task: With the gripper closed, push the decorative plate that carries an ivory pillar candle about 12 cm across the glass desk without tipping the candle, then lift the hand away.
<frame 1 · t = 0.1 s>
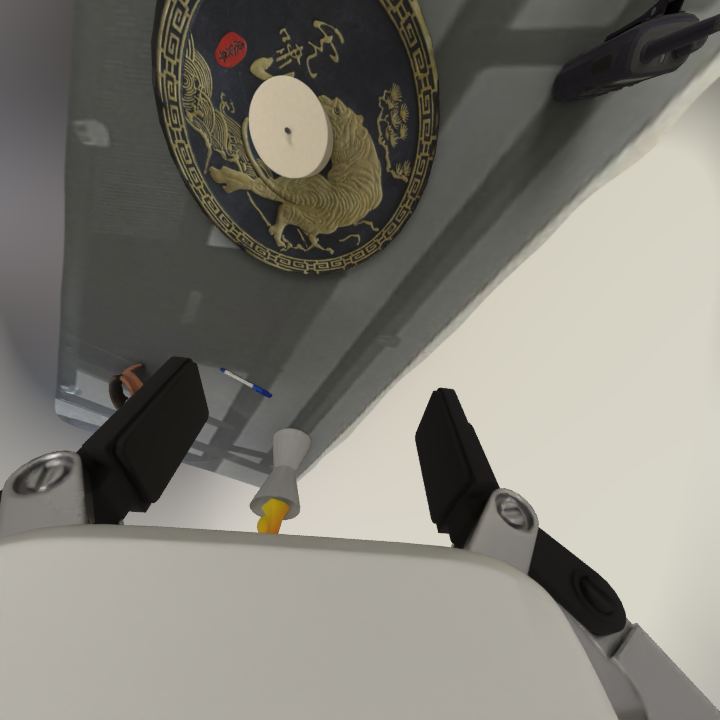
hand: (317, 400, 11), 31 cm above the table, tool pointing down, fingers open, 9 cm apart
lava lamp: (292, 440, 61), on the table
decorative plate: (304, 139, 30), on the table, touching candle
pottery mug: (161, 380, 51), on the table
two-way radio: (578, 73, 27), on the table
candle: (300, 137, 29), point 2 cm above the table, touching decorative plate
ballpoint pen: (248, 381, 51), on the table
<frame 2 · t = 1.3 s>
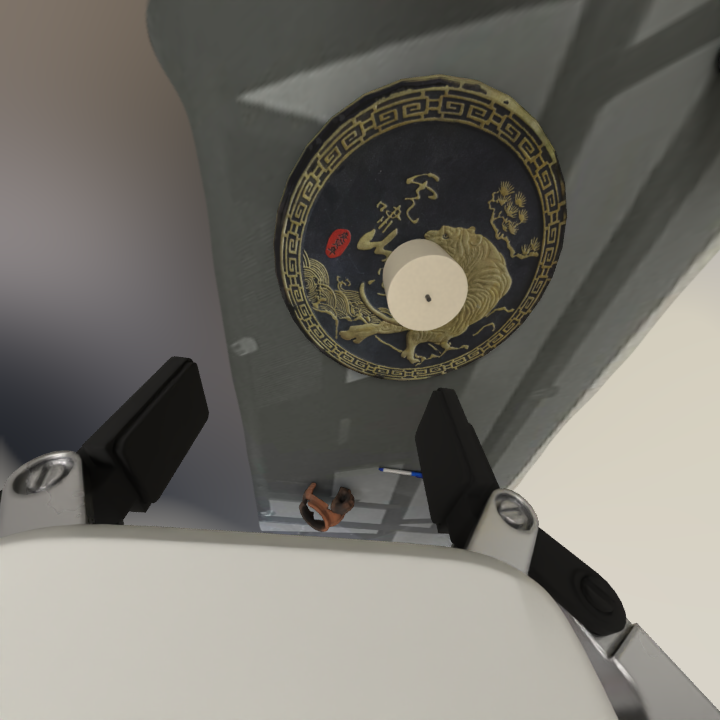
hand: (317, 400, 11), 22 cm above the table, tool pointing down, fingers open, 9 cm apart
decorative plate: (412, 268, 30), on the table, touching candle
pottery mug: (331, 488, 57), on the table
candle: (415, 274, 28), point 2 cm above the table, touching decorative plate
ballpoint pen: (404, 469, 52), on the table
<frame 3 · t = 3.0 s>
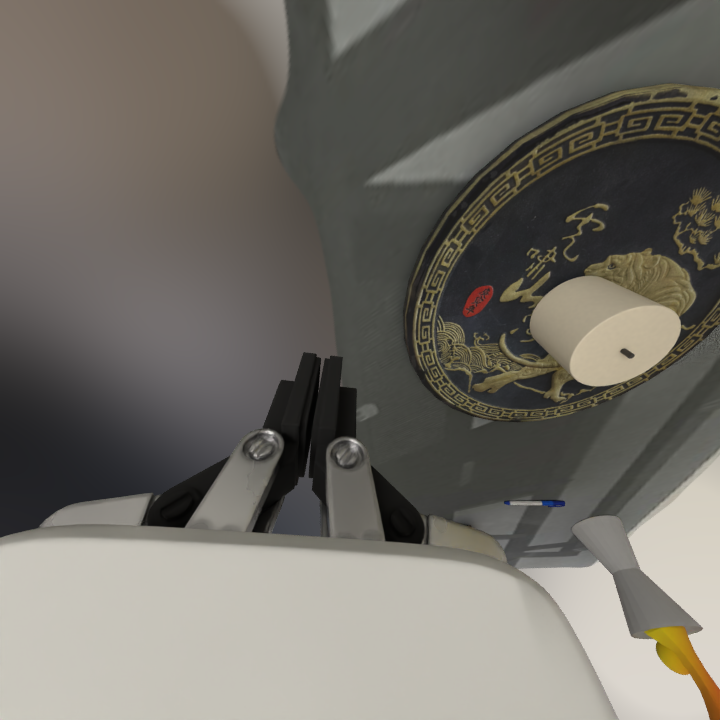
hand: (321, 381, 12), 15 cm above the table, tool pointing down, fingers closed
lava lamp: (594, 524, 53), on the table
decorative plate: (557, 304, 26), on the table, touching candle
candle: (570, 313, 24), point 2 cm above the table, touching decorative plate
ballpoint pen: (532, 499, 48), on the table
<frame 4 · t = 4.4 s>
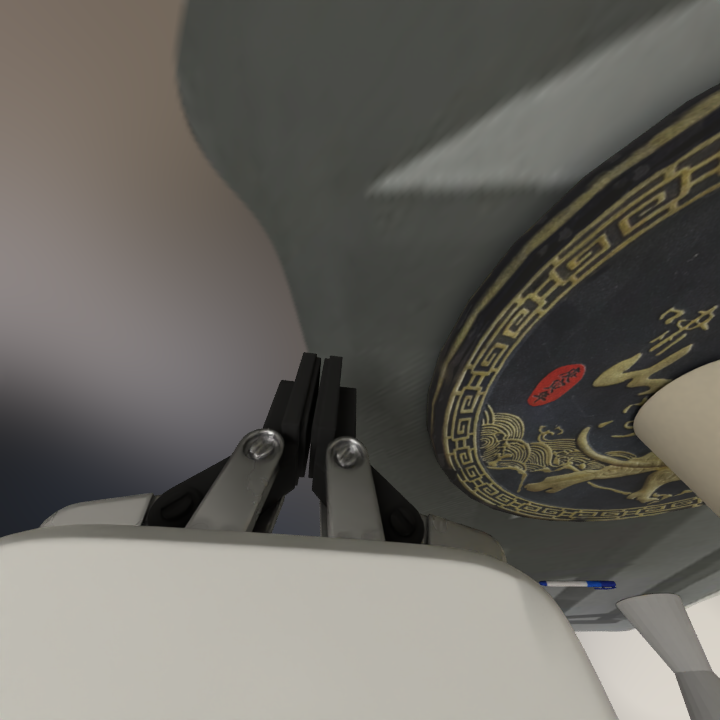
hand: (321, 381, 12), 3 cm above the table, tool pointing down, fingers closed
lava lamp: (645, 599, 44), on the table
decorative plate: (672, 380, 16), on the table, touching candle
candle: (706, 404, 15), point 2 cm above the table, touching decorative plate
ballpoint pen: (574, 578, 38), on the table
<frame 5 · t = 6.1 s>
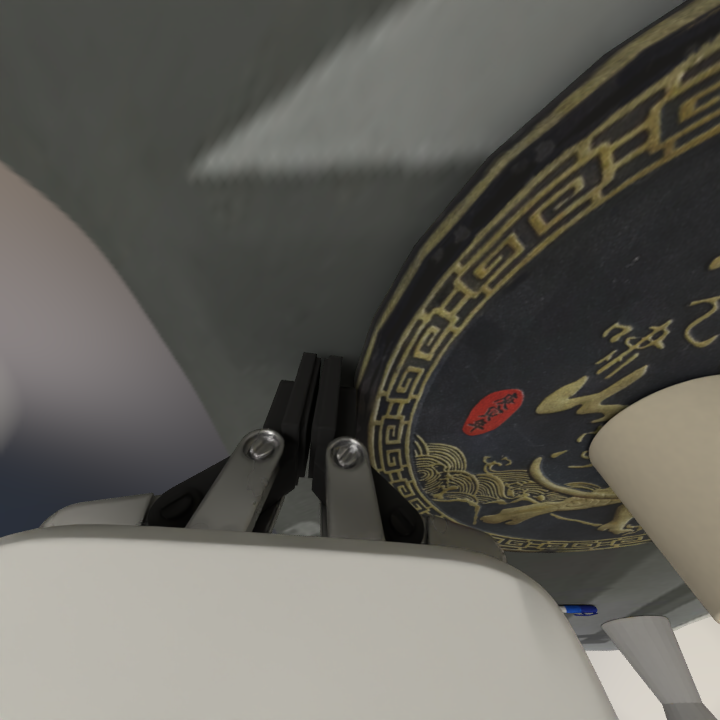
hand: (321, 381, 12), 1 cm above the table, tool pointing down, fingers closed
lava lamp: (632, 621, 41), on the table
decorative plate: (636, 401, 14), on the table, touching candle, gripper
candle: (671, 432, 12), point 2 cm above the table, touching decorative plate
ballpoint pen: (553, 603, 35), on the table
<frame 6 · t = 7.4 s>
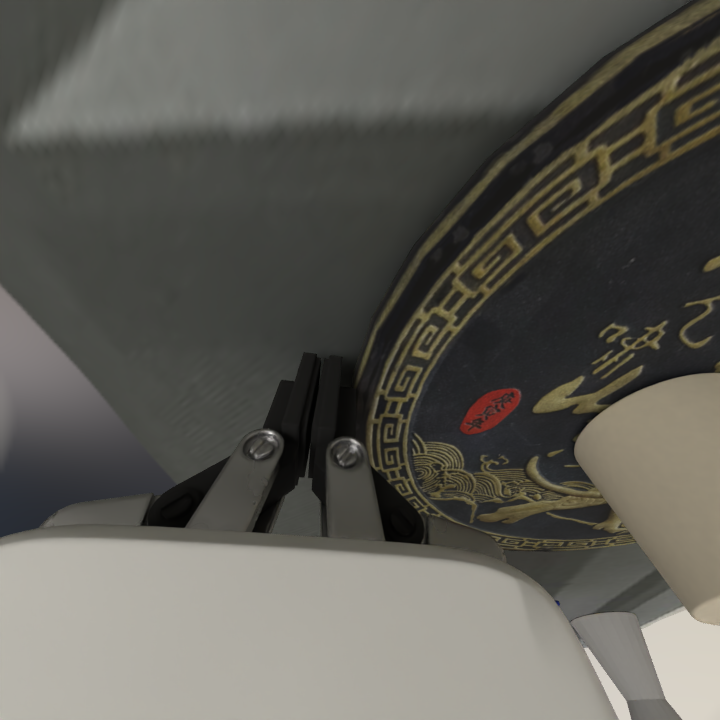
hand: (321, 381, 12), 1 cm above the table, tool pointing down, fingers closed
lava lamp: (601, 617, 40), on the table
decorative plate: (632, 401, 14), on the table, touching candle, gripper
candle: (655, 430, 13), point 2 cm above the table, touching decorative plate
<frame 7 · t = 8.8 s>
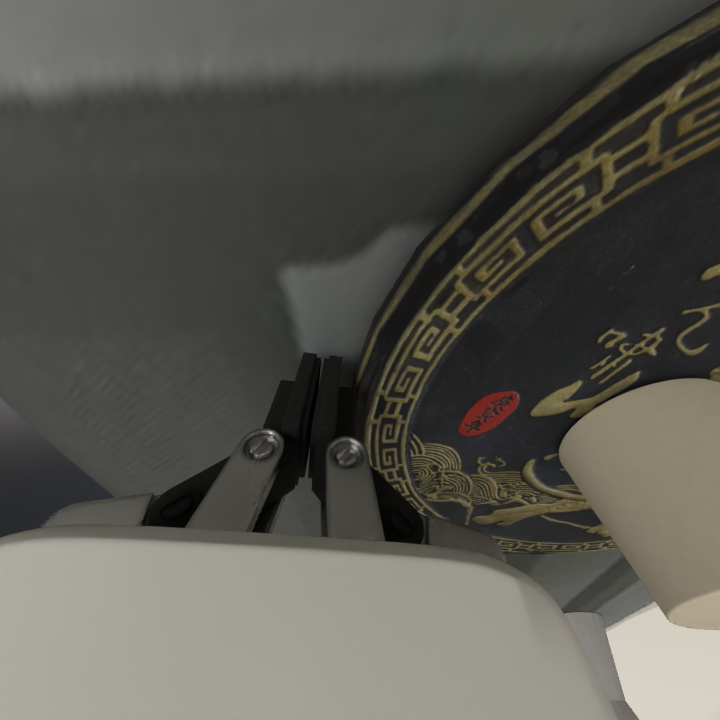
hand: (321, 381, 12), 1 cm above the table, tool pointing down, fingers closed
lava lamp: (567, 618, 40), on the table
decorative plate: (627, 407, 14), on the table, touching candle, gripper
candle: (638, 434, 13), point 2 cm above the table, touching decorative plate
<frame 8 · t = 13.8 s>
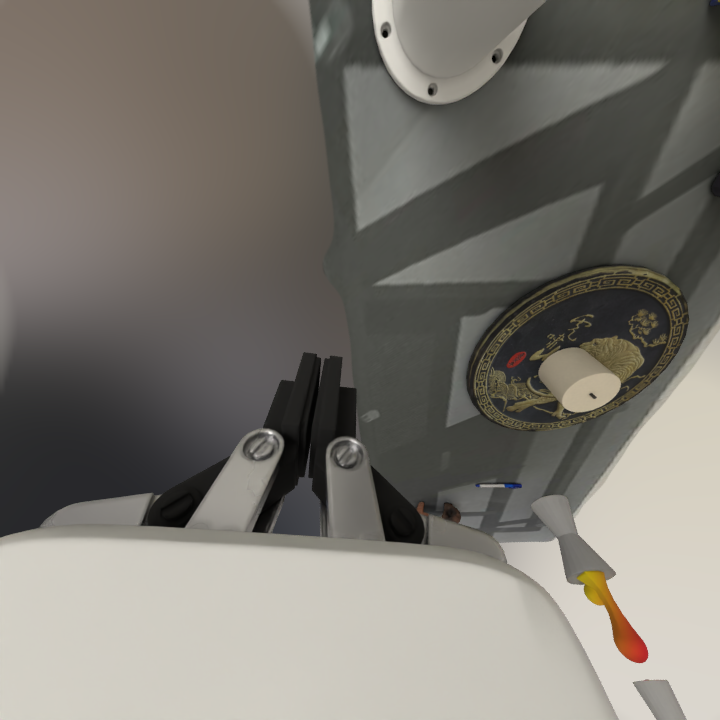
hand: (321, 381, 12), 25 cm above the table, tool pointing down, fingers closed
lava lamp: (548, 503, 68), on the table
decorative plate: (562, 360, 42), on the table, touching candle
pottery mug: (435, 504, 68), on the table
candle: (563, 366, 40), point 2 cm above the table, touching decorative plate
ballpoint pen: (497, 483, 62), on the table
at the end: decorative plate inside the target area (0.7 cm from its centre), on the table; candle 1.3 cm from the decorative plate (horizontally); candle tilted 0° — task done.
